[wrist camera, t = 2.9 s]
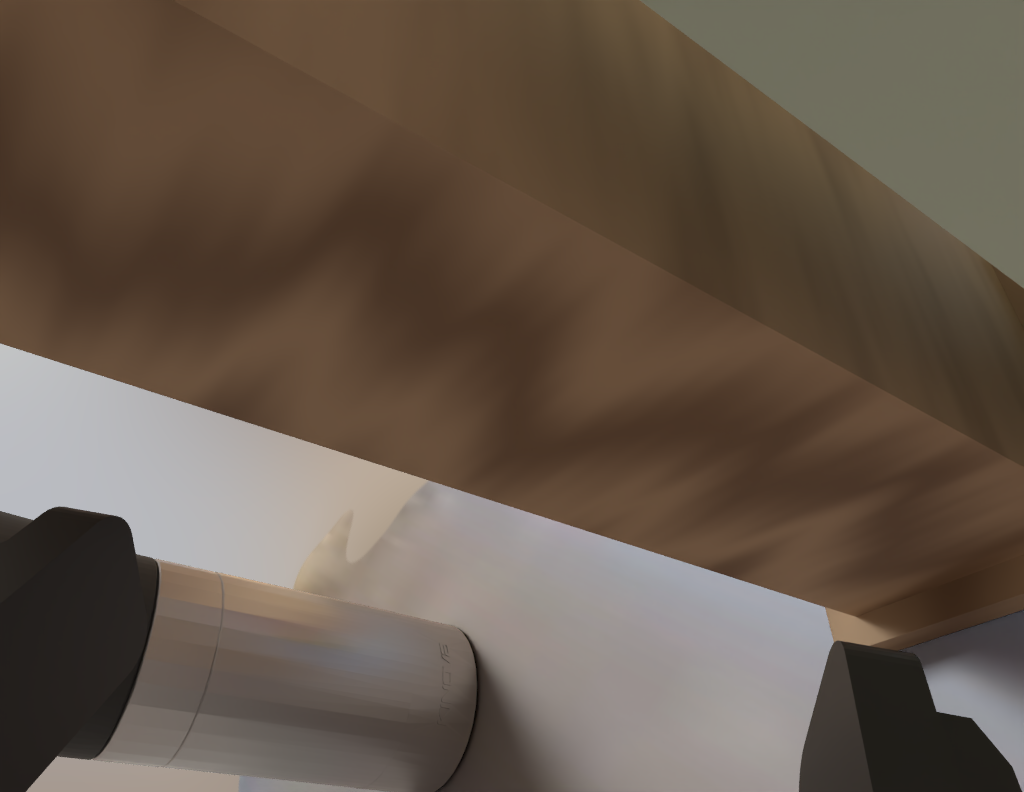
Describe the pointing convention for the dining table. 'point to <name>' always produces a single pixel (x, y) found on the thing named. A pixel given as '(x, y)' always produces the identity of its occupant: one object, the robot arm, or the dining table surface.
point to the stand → (526, 281)
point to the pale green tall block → (895, 96)
